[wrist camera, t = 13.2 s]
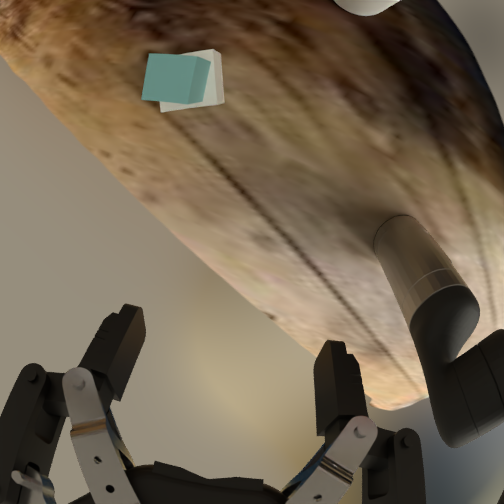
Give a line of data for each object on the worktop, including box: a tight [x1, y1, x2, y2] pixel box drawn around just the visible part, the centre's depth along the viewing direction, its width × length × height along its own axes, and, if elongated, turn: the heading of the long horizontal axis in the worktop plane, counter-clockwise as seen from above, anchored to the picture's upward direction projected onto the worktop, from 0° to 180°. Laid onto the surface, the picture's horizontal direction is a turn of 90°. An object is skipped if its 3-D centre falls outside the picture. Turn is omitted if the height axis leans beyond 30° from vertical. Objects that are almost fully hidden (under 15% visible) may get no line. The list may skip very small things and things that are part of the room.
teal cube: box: [141, 54, 211, 105], centre depth 25 cm, size 5×5×6 cm
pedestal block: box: [160, 49, 225, 112], centre depth 30 cm, size 7×7×5 cm
